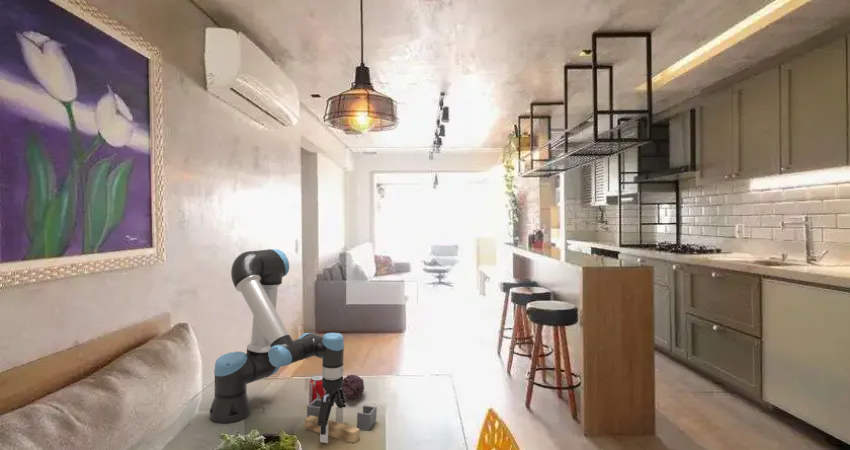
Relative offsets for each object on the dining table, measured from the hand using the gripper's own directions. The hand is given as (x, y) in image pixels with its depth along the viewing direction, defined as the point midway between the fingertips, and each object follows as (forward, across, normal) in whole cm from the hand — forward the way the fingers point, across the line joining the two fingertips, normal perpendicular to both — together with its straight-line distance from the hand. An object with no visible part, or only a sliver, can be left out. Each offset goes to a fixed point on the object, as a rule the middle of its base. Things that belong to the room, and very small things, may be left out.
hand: (331, 433), depth 176 cm
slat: (0, 0, 0) cm, 1 cm away
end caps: (0, +10, 0) cm, 10 cm away
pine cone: (0, +31, +4) cm, 31 cm away
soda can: (0, +20, +15) cm, 25 cm away
